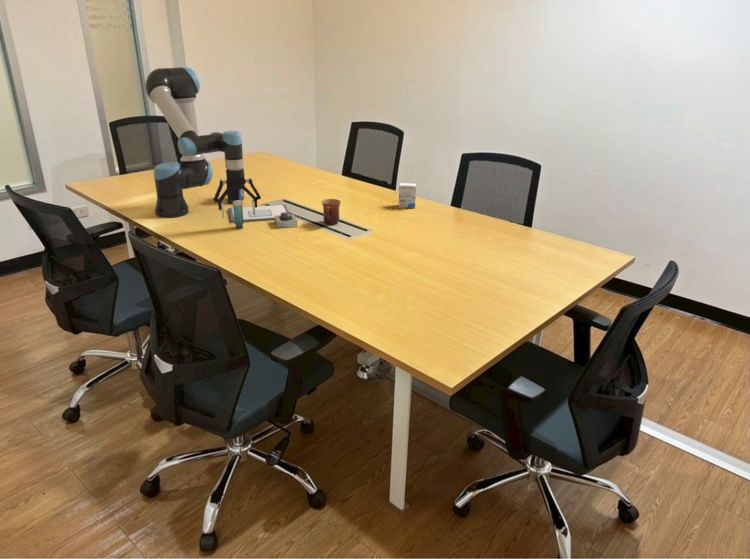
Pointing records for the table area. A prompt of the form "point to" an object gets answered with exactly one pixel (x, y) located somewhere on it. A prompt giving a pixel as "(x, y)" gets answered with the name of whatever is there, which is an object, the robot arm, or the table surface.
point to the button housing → (285, 222)
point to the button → (285, 216)
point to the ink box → (407, 195)
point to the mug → (331, 211)
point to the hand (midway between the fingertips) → (238, 215)
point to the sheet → (260, 213)
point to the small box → (235, 195)
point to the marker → (238, 214)
